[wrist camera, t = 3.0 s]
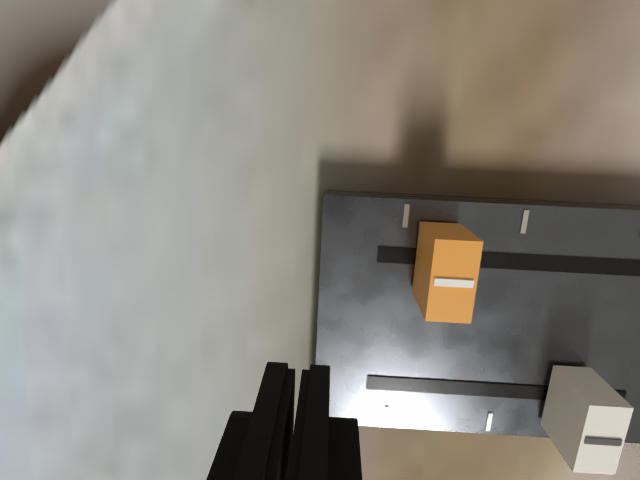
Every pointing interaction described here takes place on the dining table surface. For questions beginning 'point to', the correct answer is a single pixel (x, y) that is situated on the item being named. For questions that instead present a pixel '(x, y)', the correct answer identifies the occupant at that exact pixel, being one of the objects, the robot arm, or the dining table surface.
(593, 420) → the cream fader
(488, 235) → the console
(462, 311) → the orange fader
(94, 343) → the dining table surface
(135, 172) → the dining table surface
